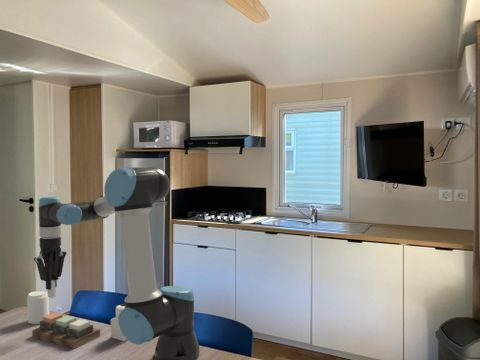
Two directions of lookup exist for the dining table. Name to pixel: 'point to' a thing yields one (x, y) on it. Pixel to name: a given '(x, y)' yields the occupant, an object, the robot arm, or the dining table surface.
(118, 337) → the medicine bottle
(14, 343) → the dining table surface
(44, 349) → the dining table surface
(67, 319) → the sage button
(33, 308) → the white canister
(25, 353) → the dining table surface
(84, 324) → the cream button
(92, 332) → the button panel
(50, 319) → the terracotta button
